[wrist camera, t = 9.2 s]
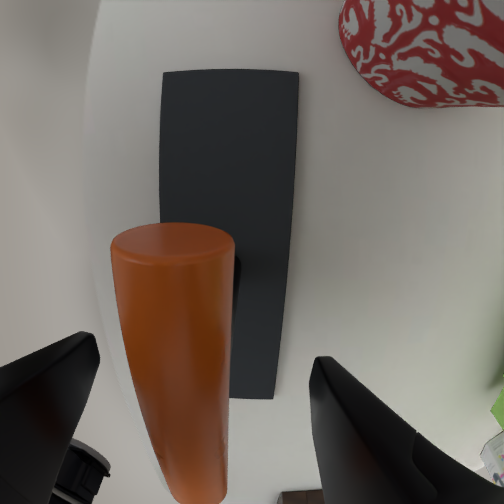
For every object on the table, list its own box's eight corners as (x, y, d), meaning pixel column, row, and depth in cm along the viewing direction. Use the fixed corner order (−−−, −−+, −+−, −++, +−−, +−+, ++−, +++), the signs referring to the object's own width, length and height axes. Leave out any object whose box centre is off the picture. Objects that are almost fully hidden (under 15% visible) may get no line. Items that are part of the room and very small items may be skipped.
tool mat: (273, 395, 17) (273, 399, 17) (179, 389, 17) (178, 393, 17) (297, 74, 11) (299, 72, 11) (165, 74, 11) (162, 72, 11)
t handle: (205, 334, 15) (165, 505, 6) (207, 179, 12) (85, 252, 3) (239, 337, 15) (225, 513, 6) (249, 181, 12) (229, 264, 3)
